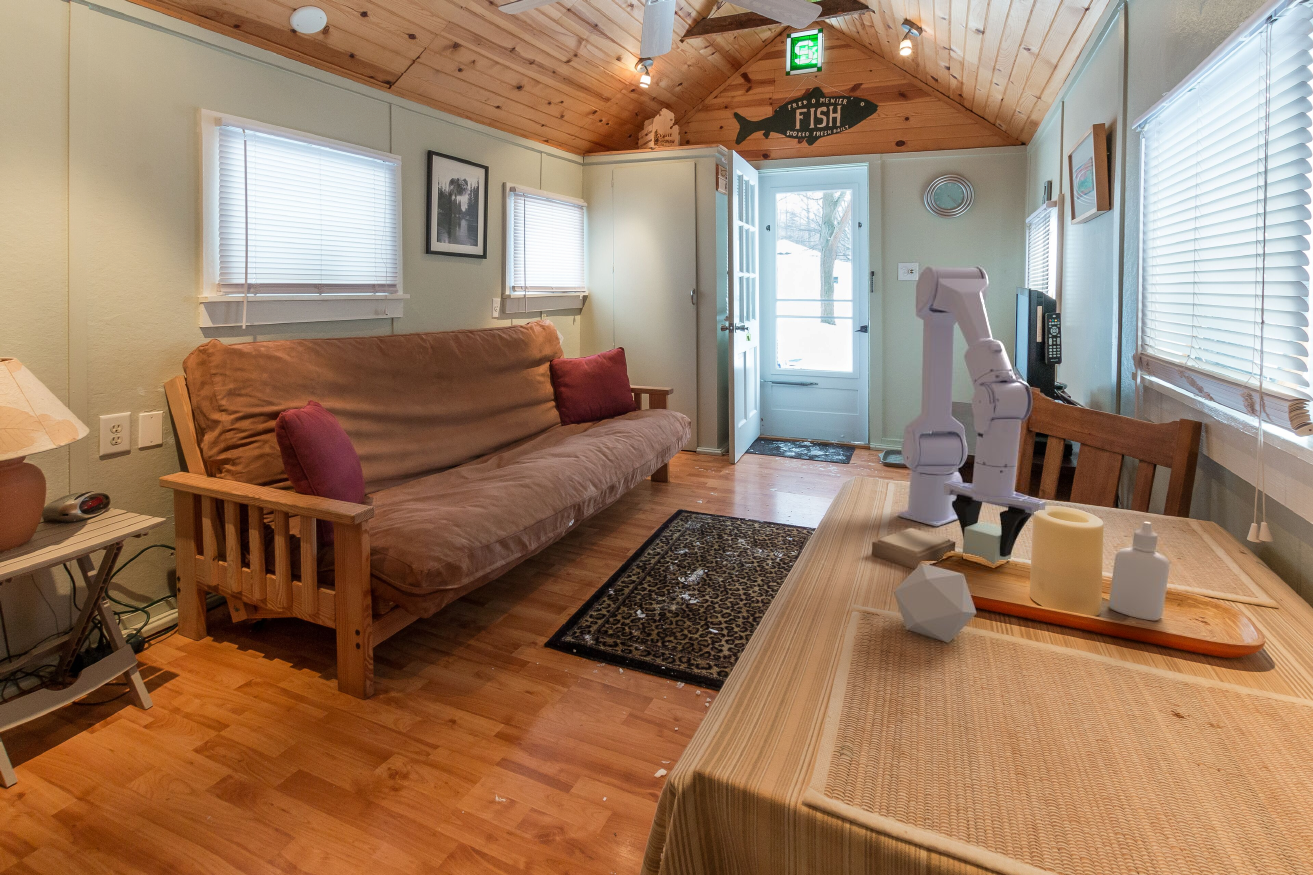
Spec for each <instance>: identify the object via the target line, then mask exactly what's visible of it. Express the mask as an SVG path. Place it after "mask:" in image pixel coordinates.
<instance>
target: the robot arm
mask: <svg viewBox="0 0 1313 875" xmlns="http://www.w3.org/2000/svg"><path fill="white" fill-rule="evenodd" d="M988 292H989V279H988V274H987V273H986V271H985V269H984V268H983V267H982V266H974V267H933V266H926V267H925V268H924V269H923V270H922V271H921V272H920V275H919V277H918V279H917V281H916V284H915V315H916V317H917V318H919V319H920V320H922V321H923V325H922V326H923V328H922V332H923V334H922V365H921V366H922V368H921V370H922V371H921V372H922V374H921V377H922V378H921V408H920V409H921V411H920V412H921V414H919V415H918V416H916V417H915V418H914V419H912V421H910V422H908V424H907V423H906V425H905V426H904V434H903V439H902V441H901V450H900V451H901V458H902V461H903V463H904V464H905V466H906V467H907V468H909V469H910V474H909V475H910V477H909V490H908V501H907V502H908V503H907V504H908V505H907V509H906V510H903V511H901V512H898V513H897V516H898V517H901V518H904V519H908V520H912V521H915V522H920V523H923V524H926V525H929V526H934V527H939V526H942V525H944V524H945V525H946V524H947V523H950V522H953V521H957V520H958V522H959V525H960V528H961V533H962V538H963V539H962V540H963V541H964V530H965V527H968V526H971V525H973V524H976V523H979V522H978V521H979V517H980V513H981V509H982V506H983V503H985V504H989V505H994V506H997V507H1002V508H1006V509H1007V510H1006V509H1005V510H1003V511H1000V512H999V520H1000V521H999V522H1000V526H1001V543H1000V556H1002V557H1006V556H1008V555H1011V556H1012V551H1013V548H1014V546H1015V544H1016V541H1017V539H1018V537H1019V534H1020V533H1021V531H1022V530H1023V527H1024V526H1025V525H1026V523H1027V522H1028V521H1029V520H1030V518H1031V517H1032V516H1034V512H1036V511H1038V510H1045V511H1046V503H1047V500H1042V499H1038V498H1035V497H1032V496H1029V495H1026V494H1024V493H1023V494H1022V493H1020V492H1016V491H1015V488H1016V479H1017V469H1018V458H1019V448H1020V440H1021V432H1022V431H1021V430H1022V429H1021V428H1022V421H1026V420H1027V418H1028V417H1029V416H1030V415H1031V411H1032V409H1033V404H1034V403H1033V393H1032V390H1031V386H1030V385H1029V384H1028V383H1027V382H1026V380H1025V381H1024V380H1022V379H1021V376H1020V375H1015V373H1014V372H1015V371H1014V369H1013V367H1012V364H1011V361H1010V358H1009V355H1008V354H1007V351H1006V349H1005V348H1006V347H1005V345H1004V344H1003V342H1001V340H997V339H993V335H992V330H991V327H990V322H989V318H988V314H987V310H986V307H985V302H986V299H987V296H988ZM956 323H957V325H958V327H959V329H960V331H961V333H962V337H964V340H965V342H966V344H967V346H968V348H967V349H966V351H965V353H964V355H963V356H964V357H963V358H964V359H963V360H964V361H965V364H966V367H967V371H968V374H969V376H970V377H969V378H970V379H971V382H972V387H973V389H974V392H973V395H972V396H973V397H972V398H971V411H972V414H973V428H974V431H976V442H975V452H974V454H975V455H974V462H973V463H974V464H973V473H972V474H973V476H972V483H967V482H963V478H962V476H961V474H960V472H959V468H961V467H962V466H963V465H964V464H965V462H966V460H967V458H968V444H967V441H966V439H967V438H966V431H965V426H964V425H963V424H962V423H961V422H959V421H958V420H957V419H955V418H954V417H953V415H952V410H953V408H952V406H953V405H952V404H953V370H954V369H953V365H954V364H953V363H954V336H955V335H954V330H955V329H954V328H955V325H956ZM927 432H928V433H927ZM930 432H936V433H930ZM937 432H941V433H937ZM942 432H943V433H942ZM944 432H945V433H944Z"/></svg>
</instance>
